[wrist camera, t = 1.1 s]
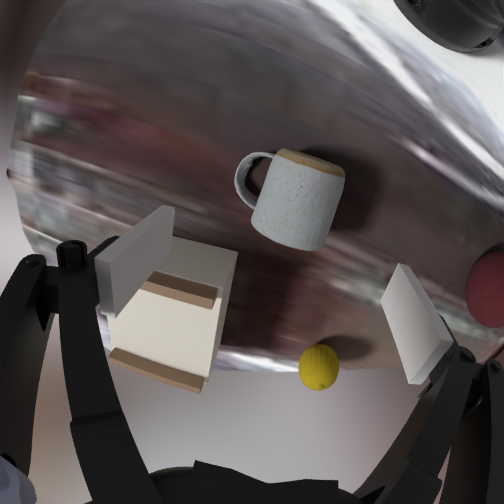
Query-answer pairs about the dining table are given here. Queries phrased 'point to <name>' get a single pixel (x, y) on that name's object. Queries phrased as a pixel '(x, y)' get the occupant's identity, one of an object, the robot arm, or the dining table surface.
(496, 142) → the dining table surface
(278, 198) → the ceramic mug
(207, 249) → the display stand
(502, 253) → the decorative ball
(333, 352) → the lemon
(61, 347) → the robot arm
